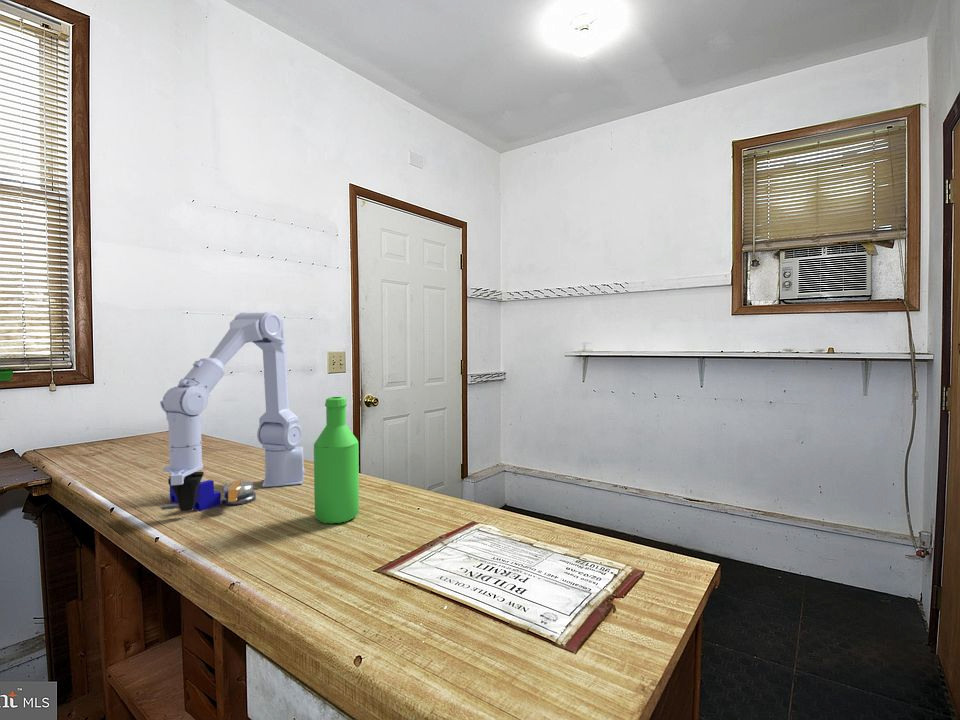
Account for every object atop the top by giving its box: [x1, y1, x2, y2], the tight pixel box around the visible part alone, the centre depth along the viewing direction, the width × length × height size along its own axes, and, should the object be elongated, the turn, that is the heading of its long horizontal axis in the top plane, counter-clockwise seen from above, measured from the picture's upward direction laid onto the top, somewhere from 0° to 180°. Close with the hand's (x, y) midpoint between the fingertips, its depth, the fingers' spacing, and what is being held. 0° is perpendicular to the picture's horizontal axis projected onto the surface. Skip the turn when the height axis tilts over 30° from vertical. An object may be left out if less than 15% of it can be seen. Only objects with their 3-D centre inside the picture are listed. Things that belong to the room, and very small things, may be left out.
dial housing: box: [221, 491, 257, 507], centre depth 110 cm, size 7×7×1 cm
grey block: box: [161, 502, 180, 510], centre depth 106 cm, size 3×2×1 cm, turn 109°
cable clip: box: [168, 475, 222, 512], centre depth 108 cm, size 12×4×6 cm, turn 60°
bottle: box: [313, 396, 360, 524], centre depth 99 cm, size 9×9×25 cm
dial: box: [223, 479, 254, 502], centre depth 108 cm, size 12×6×4 cm, turn 18°
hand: (187, 509), depth 100 cm, fingers closed
